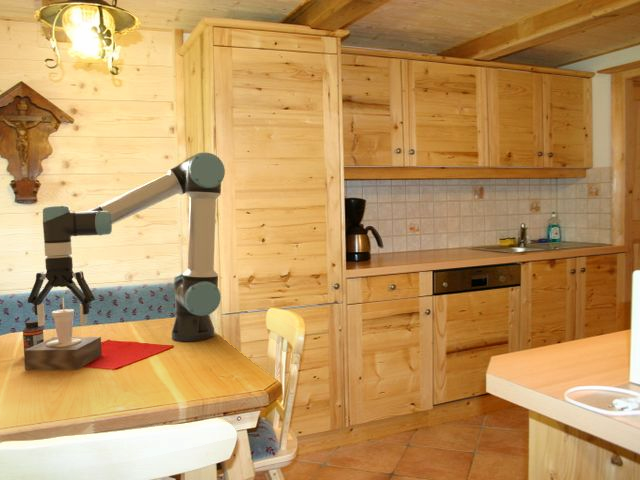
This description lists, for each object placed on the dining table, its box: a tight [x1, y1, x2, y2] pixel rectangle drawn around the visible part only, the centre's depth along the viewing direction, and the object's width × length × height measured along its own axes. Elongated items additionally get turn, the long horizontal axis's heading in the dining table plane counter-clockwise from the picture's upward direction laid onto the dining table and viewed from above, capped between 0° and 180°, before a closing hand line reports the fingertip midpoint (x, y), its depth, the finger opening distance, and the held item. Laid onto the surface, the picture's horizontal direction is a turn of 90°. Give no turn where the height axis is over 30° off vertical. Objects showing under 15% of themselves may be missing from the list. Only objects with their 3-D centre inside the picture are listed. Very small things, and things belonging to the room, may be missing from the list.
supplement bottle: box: [22, 319, 45, 351], centre depth 186 cm, size 6×6×11 cm
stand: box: [23, 336, 103, 371], centre depth 176 cm, size 16×16×6 cm
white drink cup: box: [51, 296, 75, 343], centre depth 176 cm, size 6×6×14 cm
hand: (62, 325), depth 176 cm, fingers open, 13 cm apart
